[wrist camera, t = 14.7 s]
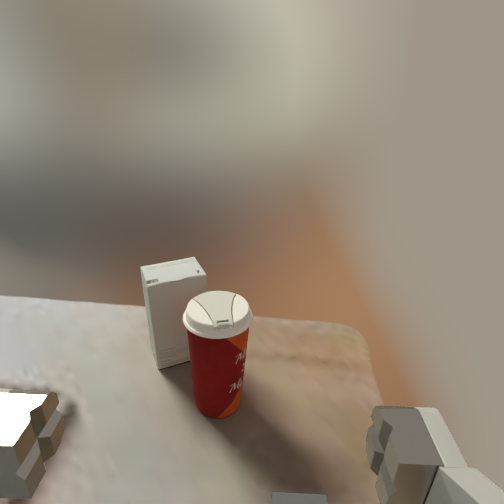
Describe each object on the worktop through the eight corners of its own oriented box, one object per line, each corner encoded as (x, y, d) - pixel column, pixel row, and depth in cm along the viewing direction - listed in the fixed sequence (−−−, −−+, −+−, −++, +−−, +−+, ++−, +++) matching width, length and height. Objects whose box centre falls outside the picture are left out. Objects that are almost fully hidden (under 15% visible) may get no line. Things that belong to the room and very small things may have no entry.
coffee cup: (255, 419, 48) (261, 322, 42) (190, 432, 46) (186, 332, 40) (240, 373, 56) (243, 284, 49) (183, 382, 53) (178, 291, 47)
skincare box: (199, 334, 63) (197, 254, 57) (210, 358, 58) (209, 273, 52) (147, 347, 60) (139, 263, 53) (155, 372, 55) (146, 284, 48)
